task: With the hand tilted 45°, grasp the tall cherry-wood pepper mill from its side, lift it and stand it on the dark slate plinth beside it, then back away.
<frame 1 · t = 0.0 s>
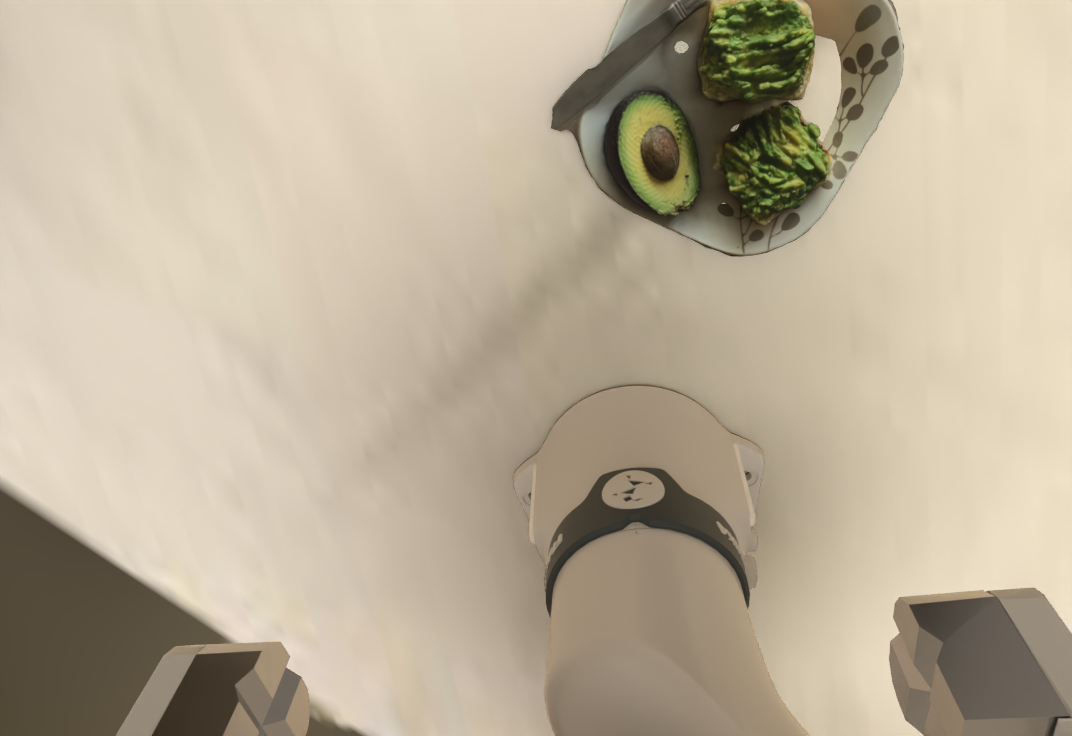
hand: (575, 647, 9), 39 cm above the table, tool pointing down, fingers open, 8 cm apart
plate of avocado toast: (720, 104, 43), on the table
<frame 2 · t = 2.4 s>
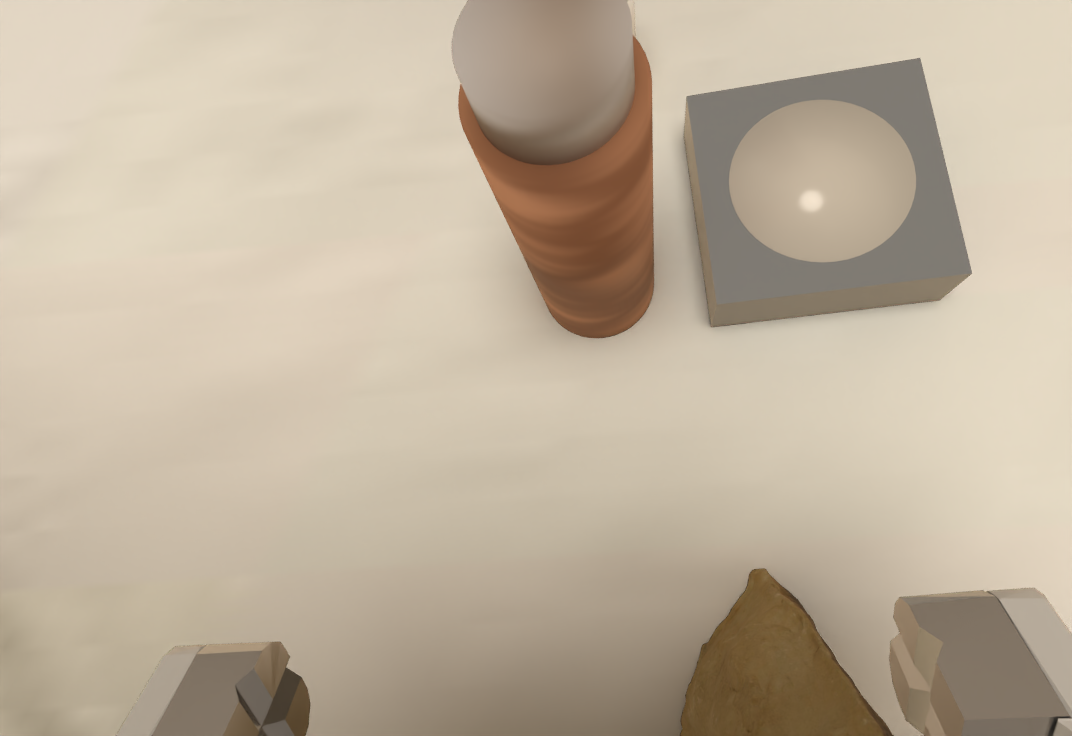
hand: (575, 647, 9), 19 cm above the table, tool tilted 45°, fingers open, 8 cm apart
plinth: (804, 213, 30), on the table
rock: (726, 730, 26), on the table
pepper mill: (598, 285, 31), on the table
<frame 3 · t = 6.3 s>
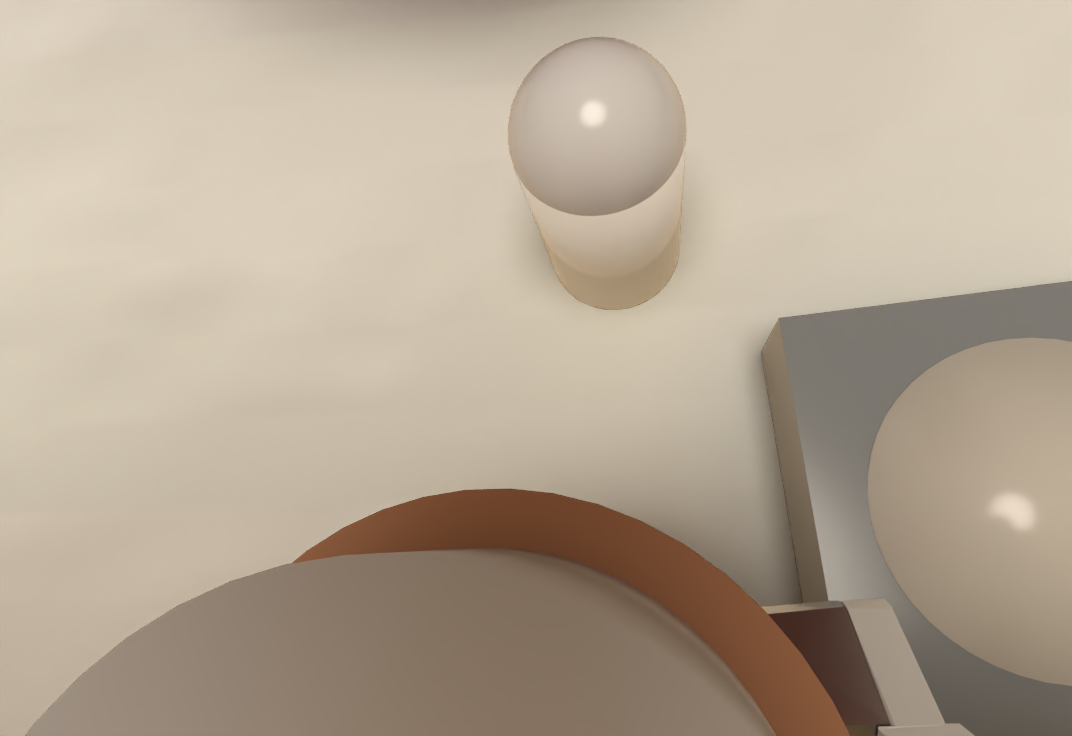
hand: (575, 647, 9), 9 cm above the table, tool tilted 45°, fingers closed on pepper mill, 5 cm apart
plinth: (983, 508, 17), on the table
salt shaker: (614, 249, 20), on the table
pepper mill: (619, 622, 18), on the table, touching gripper
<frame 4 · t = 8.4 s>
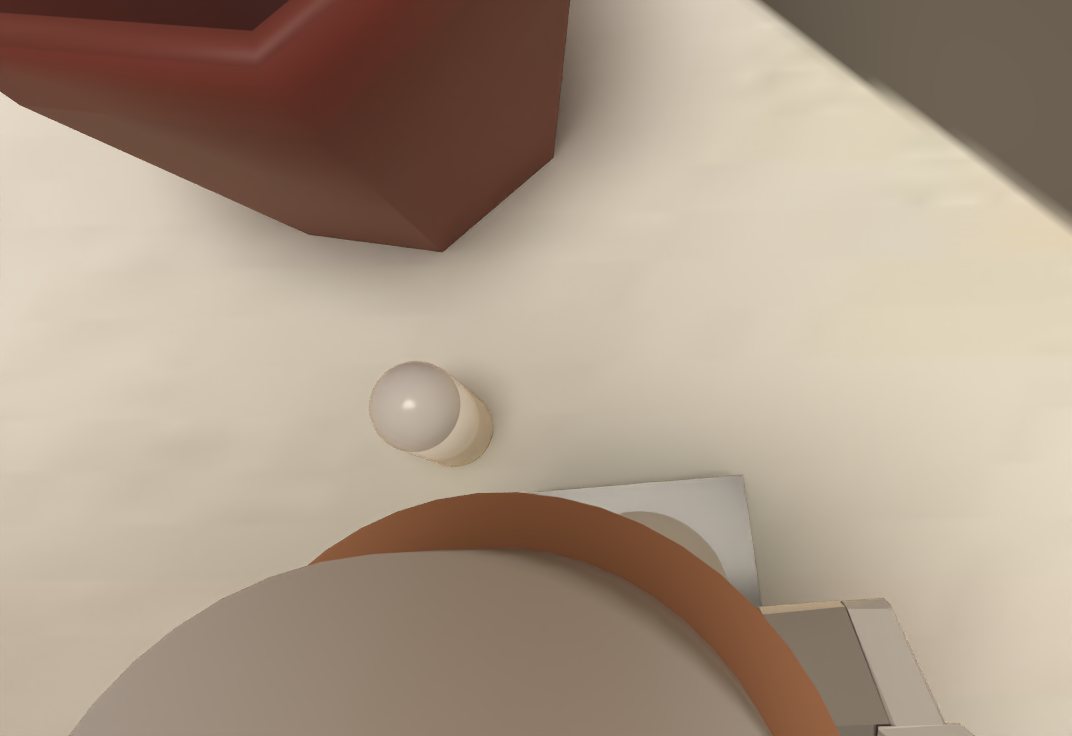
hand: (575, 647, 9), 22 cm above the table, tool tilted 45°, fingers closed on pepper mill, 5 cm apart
plinth: (642, 593, 31), on the table
bucket: (406, 122, 38), on the table
salt shaker: (455, 428, 34), on the table
pepper mill: (619, 620, 18), point 13 cm above the table, touching gripper
when the fingers open (13 cm above the table, at t = 10.9 s): pepper mill stays where it is, resting on plinth.
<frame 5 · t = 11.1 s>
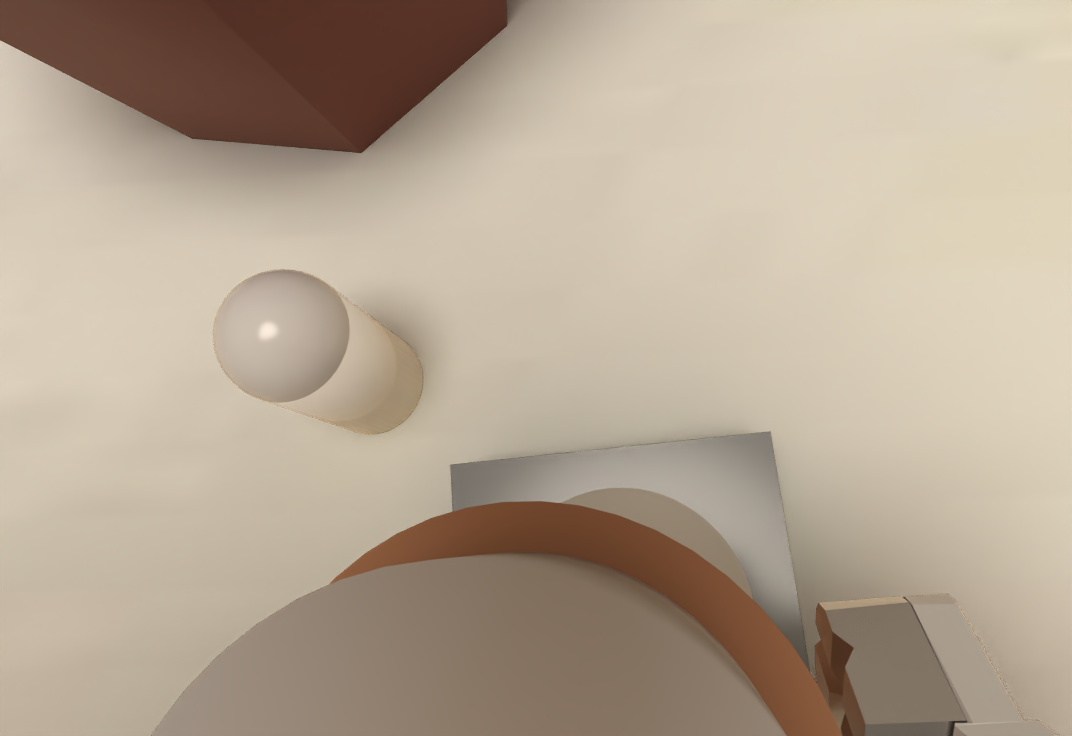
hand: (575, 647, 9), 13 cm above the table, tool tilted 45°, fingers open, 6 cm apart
plinth: (628, 606, 22), on the table
salt shaker: (373, 383, 25), on the table
pepper mill: (619, 619, 19), point 3 cm above the table, touching plinth
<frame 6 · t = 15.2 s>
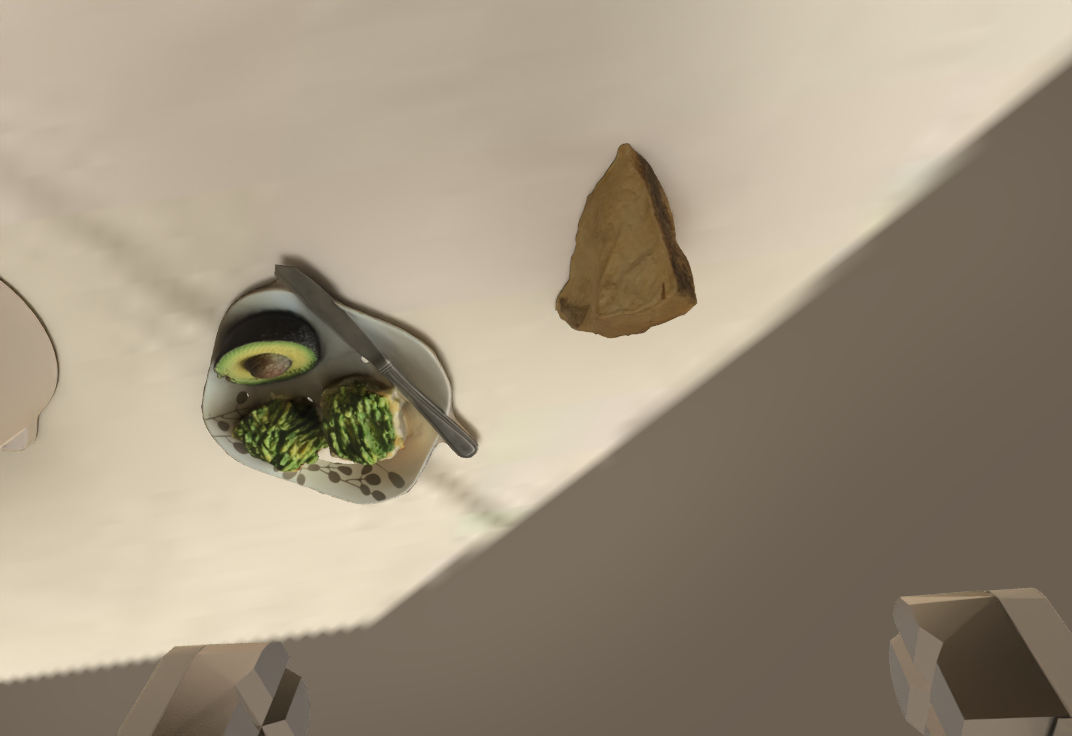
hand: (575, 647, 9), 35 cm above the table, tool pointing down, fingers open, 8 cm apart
rock: (603, 240, 44), on the table
plate of avocado toast: (327, 385, 51), on the table
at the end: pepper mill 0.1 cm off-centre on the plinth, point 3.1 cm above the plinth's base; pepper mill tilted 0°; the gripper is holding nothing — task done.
